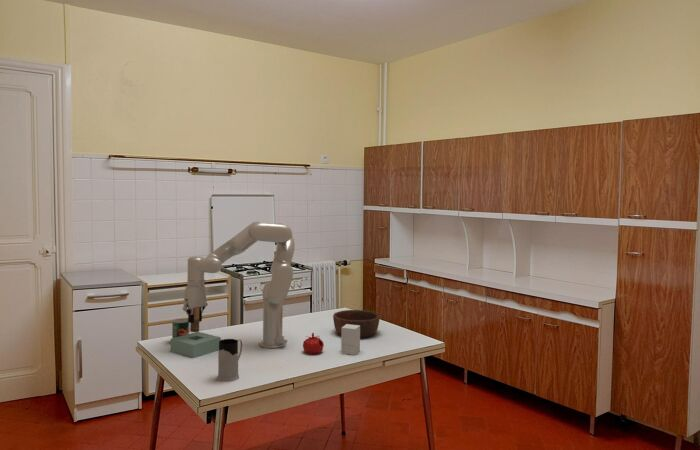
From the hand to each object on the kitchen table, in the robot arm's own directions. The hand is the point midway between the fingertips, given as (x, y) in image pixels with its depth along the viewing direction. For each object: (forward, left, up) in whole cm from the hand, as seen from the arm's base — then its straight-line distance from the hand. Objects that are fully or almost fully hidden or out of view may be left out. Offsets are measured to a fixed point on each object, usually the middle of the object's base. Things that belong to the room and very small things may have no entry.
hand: (195, 321), depth 250 cm
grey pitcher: (-38, +13, -14) cm, 43 cm away
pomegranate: (-45, -32, -14) cm, 57 cm away
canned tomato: (+16, -4, -14) cm, 22 cm away
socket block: (0, 0, -14) cm, 14 cm away
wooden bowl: (-43, -72, -14) cm, 85 cm away
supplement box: (-59, -43, -14) cm, 75 cm away
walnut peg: (0, 0, -4) cm, 4 cm away
